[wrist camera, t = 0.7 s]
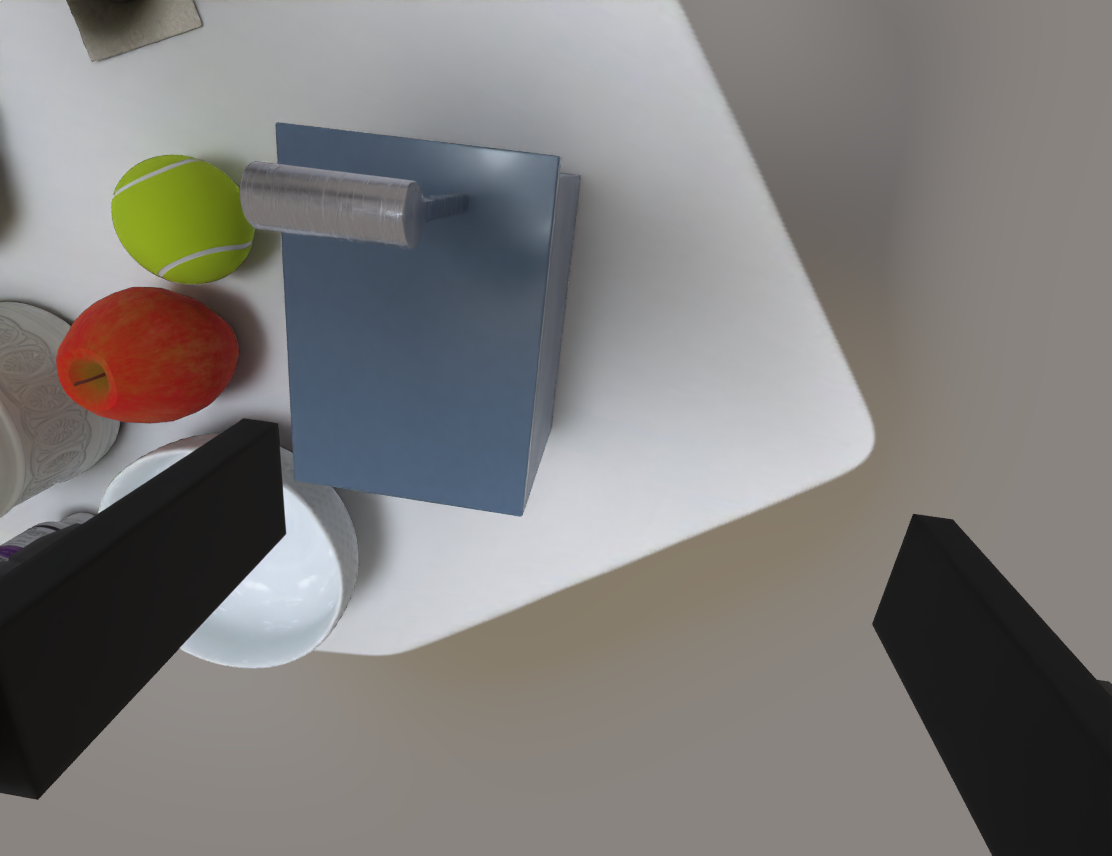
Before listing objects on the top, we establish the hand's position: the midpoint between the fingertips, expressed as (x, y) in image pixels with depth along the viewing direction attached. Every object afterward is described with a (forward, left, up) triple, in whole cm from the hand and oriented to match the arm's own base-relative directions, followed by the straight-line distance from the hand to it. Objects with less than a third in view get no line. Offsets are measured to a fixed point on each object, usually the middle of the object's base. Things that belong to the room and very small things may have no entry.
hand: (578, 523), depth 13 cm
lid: (+1, -9, -17) cm, 19 cm away
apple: (+7, -27, -28) cm, 39 cm away
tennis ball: (-1, -25, -28) cm, 37 cm away
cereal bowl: (+20, -23, -28) cm, 41 cm away
